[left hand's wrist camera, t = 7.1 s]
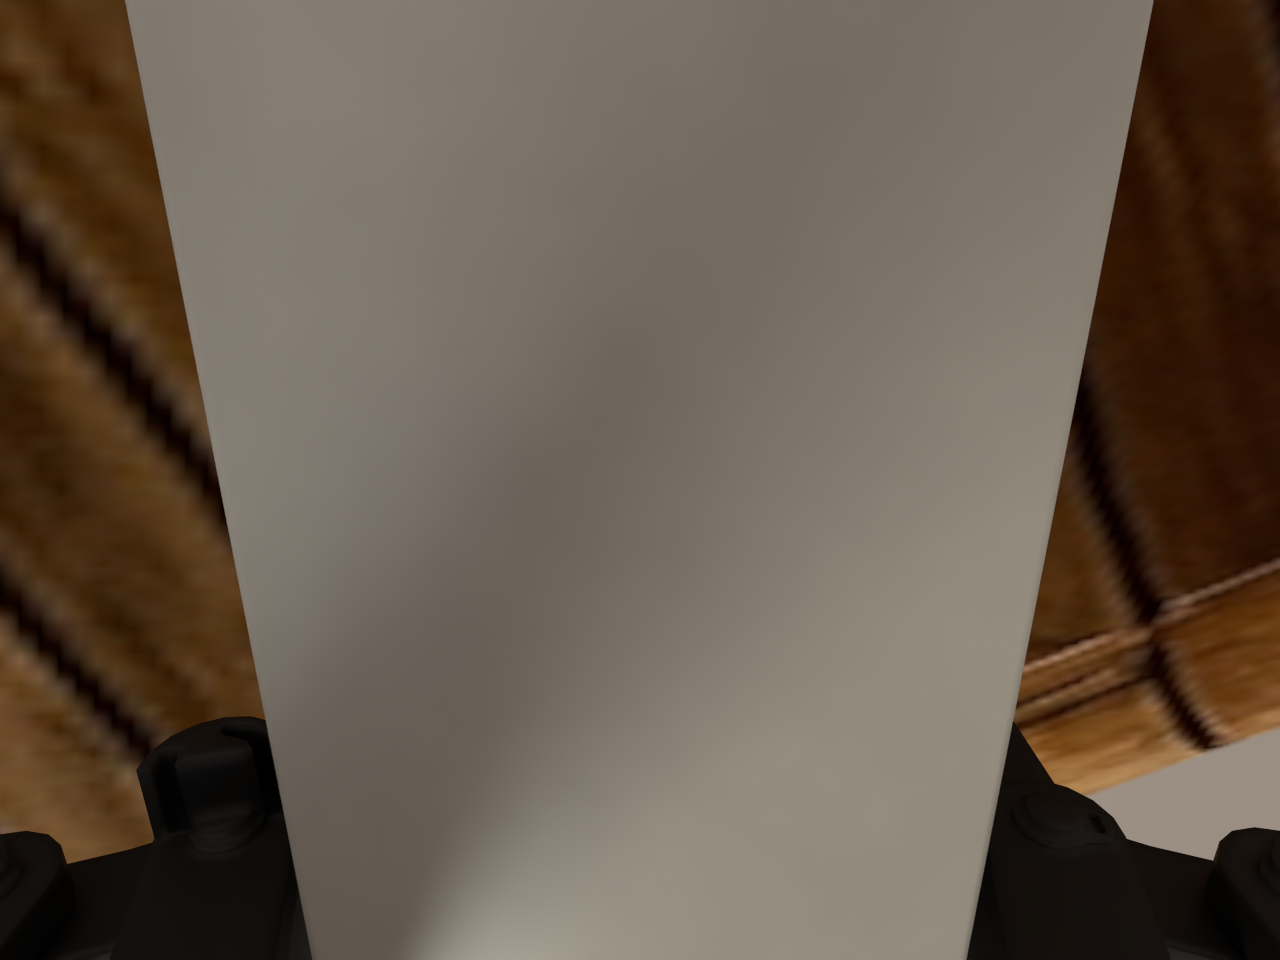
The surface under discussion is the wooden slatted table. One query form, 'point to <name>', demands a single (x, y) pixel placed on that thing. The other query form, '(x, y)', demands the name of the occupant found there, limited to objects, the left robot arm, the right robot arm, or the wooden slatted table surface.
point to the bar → (639, 444)
